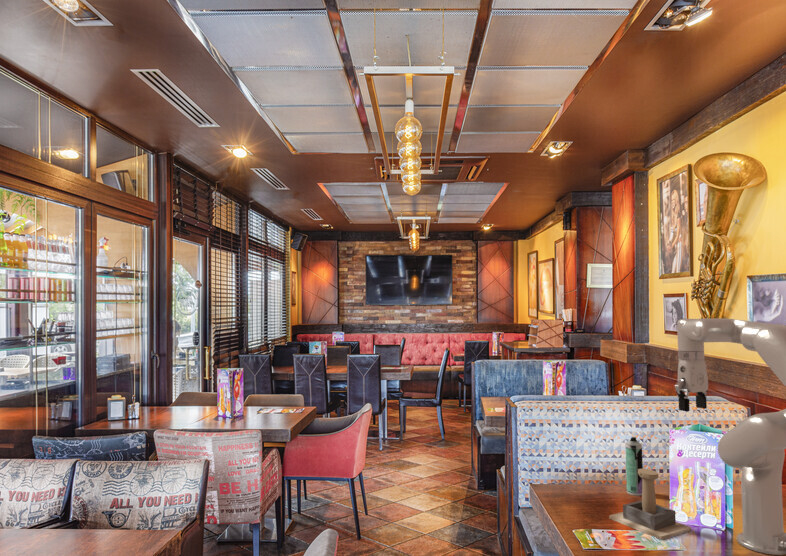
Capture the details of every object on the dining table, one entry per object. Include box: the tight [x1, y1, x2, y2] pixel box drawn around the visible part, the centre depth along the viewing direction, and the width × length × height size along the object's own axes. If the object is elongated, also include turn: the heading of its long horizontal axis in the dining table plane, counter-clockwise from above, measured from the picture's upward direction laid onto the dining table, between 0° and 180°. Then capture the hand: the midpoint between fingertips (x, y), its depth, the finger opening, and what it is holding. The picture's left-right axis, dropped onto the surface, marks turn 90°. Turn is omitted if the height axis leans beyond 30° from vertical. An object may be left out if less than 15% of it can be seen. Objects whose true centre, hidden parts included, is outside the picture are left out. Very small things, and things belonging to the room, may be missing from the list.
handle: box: [638, 468, 659, 515], centre depth 166 cm, size 5×6×15 cm
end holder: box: [608, 499, 692, 541], centre depth 165 cm, size 18×14×5 cm
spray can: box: [625, 436, 644, 497], centre depth 194 cm, size 6×6×20 cm
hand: (692, 409), depth 174 cm, fingers open, 9 cm apart
